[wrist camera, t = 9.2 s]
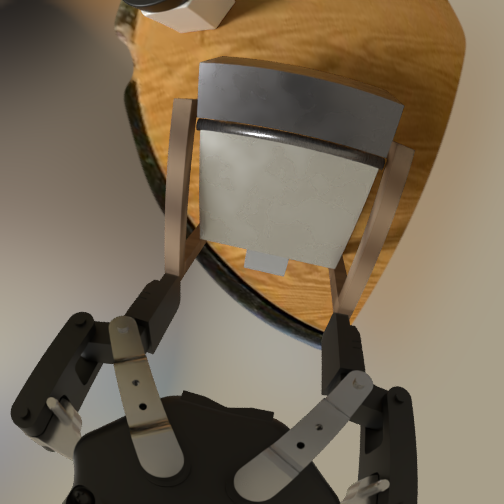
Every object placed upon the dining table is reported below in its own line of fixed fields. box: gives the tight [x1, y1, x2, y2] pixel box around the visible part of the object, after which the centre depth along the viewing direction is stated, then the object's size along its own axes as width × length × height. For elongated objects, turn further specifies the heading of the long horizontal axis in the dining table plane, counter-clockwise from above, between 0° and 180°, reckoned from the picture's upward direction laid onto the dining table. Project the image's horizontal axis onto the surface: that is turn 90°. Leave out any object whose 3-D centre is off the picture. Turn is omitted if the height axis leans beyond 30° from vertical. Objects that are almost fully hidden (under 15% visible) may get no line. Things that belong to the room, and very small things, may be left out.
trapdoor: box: [196, 56, 404, 269], centre depth 22 cm, size 18×15×5 cm
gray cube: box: [244, 249, 289, 276], centre depth 35 cm, size 5×5×5 cm
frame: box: [165, 99, 415, 319], centre depth 28 cm, size 17×18×13 cm
